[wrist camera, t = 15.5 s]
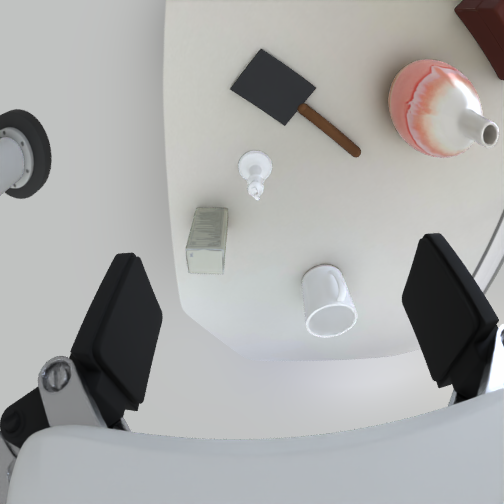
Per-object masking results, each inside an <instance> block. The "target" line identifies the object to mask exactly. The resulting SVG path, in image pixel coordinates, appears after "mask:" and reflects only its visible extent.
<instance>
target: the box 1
mask: <svg viewBox="0 0 504 504" xmlns="http://www.w3.org/2000/svg"><path fill="white" fill-rule="evenodd" d="M226 238H227V209H226V208H196V211H195V215H194V219H193V223H192V227H191V230H190V234H189V238H188V242H187V246H186V259H187V266H188V272H189V273H195V274H223V273H224V263H225V250H226Z"/></svg>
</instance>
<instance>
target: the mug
mask: <svg viewBox="0 0 504 504" xmlns="http://www.w3.org/2000/svg"><path fill="white" fill-rule="evenodd" d="M302 292H303V301H304V312H305V322H306V328H307V330H308V331H309V332H310V333H311V334H312V335H315V336H318V337H333V336H337V335H340V334H343V333H344V332H346V331H348V330H349V329H350V328H351V327H353V325H354V324H355V323H356V320H357V312H356V309H355V306H354V304H353V301H352V298H351V296H350V293H349V291H348V288H347V286H346V283H345V280H344V278H343V275H342V273H341V271H340V270H339V269H338V268H336V267H334V266H332V265H318V266H316V267H313V268H311V269H310V270H308V271H307V273H306V274H305V275H304V277H303V279H302Z"/></svg>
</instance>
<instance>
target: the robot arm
mask: <svg viewBox="0 0 504 504" xmlns="http://www.w3.org/2000/svg"><path fill="white" fill-rule="evenodd" d="M33 167H34V158H33V152H32V149H31V146H30V144H29V141H28V140H27V138H26V137H25V135H24V134H23V133H22V132H21V131H19V130H18V129H16V128H13V127H7V128H4V129H2V130H0V195H1V194H3V193H4V192H5V191H6V190H7V189H8V188H20V187H22V186H24V185H25V184H26V183H27V182H28V181H29V179H30V178H31V176H32V172H33ZM402 303H403V306H404V308H405V311H406V313H407V315H408V318H409V320H410V322H411V325H412V327H413V330H414V332H415V335H416V337H417V340H418V342H419V345H420V347H421V350H422V352H423V355H424V358H425V360H426V363H427V366H428V369H429V371H430V374H431V377H432V379H433V380H434V381H436V382H437V385H438V388H441V387H445V386H448V385H451V384H452V385H453V388H454V390H453V393H452V396H451V399H450V402H449V405H448V407H445V408H442V409H438V410H435V411H432V412H428V413H425V414H421V415H418V416H414V417H410V418H407V419H403V420H398V421H394V422H390V423H386V424H381V425H376V426H371V427H366V428H360V429H354V430H349V431H342V432H336V433H328V434H320V435H311V436H301V437H291V438H290V437H289V438H275V439H274V438H273V439H199V438H184V437H172V436H161V435H152V434H144V433H136V432H131V430H130V429H129V427H128V425H127V423H126V421H125V420H124V418H123V415H124V411H125V410H133V411H138V406H139V403H140V404H141V403H142V402H143V401H144V397H145V392H146V387H147V382H148V378H149V374H150V368H151V365H152V360H153V356H154V352H155V348H156V343H157V340H158V335H159V332H160V327H161V324H162V311H161V309H160V306H159V304H158V301H157V299H156V297H155V294H154V292H153V289H152V287H151V285H150V282H149V279H148V277H147V274H146V272H145V269H144V267H143V264H142V261H141V259H140V258H139V257H136V255H135V254H134V253H122V254H117V255H116V256H115V258H114V260H113V261H112V263H111V265H110V267H109V269H108V271H107V273H106V275H105V277H104V279H103V281H102V283H101V285H100V287H99V289H98V291H97V293H96V295H95V297H94V300H93V301H92V303H91V305H90V308H89V310H88V312H87V314H86V316H85V318H84V321H83V323H82V325H81V328H80V330H79V332H78V335H77V337H76V339H75V342H74V344H73V346H72V349H71V355H70V357H69V358H68V357H64V356H57V357H54V358H52V359H50V360H49V361H48V362H46V364H45V365H44V366H43V367H42V369H41V371H40V373H39V377H38V387H37V388H36V389H34V390H33V391H31V392H30V393H28V394H27V395H25V396H24V397H22V398H21V399H19V400H18V401H16V402H15V403H14V404H12V405H10V406H9V407H8V408H7V409H6V410H5V411H4V413H3V415H2V417H1V420H0V429H1V431H0V504H504V324H503V325H501V326H500V327H499V328H498V327H497V325H496V324H497V323H498V321H499V319H498V317H497V316H496V314H495V312H494V311H493V309H492V307H491V305H490V304H489V302H488V300H487V299H486V297H485V296H484V294H483V292H482V291H481V289H480V288H479V286H478V285H477V283H476V282H475V280H474V279H473V277H472V276H471V274H470V273H469V271H468V270H467V268H466V267H465V265H464V264H463V263H462V261H461V260H460V258H459V257H458V256H457V254H456V253H455V251H454V250H453V249H452V247H451V246H450V245H449V243H448V242H447V241H446V239H445V238H444V237H443V236H442V235H441V234H440V233H434V234H425V235H424V236H423V238H422V239H420V240H419V243H418V247H417V250H416V254H415V257H414V260H413V264H412V267H411V270H410V273H409V276H408V279H407V282H406V285H405V288H404V291H403V294H402Z"/></svg>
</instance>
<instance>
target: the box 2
mask: <svg viewBox="0 0 504 504" xmlns="http://www.w3.org/2000/svg"><path fill="white" fill-rule="evenodd" d="M455 12H456V14H457V15H458V16H459V18H460V19H461V20H462V22H463V23H464V24H465V26H466V27H467V28H468V30H469V31H470V32H471V34H472V35H473V37H474V38H475V40H476V41H477V43H478V44H479V46H480V47H481V49H482V50H483V52H484V53H485V55H486V57H487V58H488V60H489V61H490V63H491V65H492V66H493V68H494V70H495V72H496V73H497V75H498V77H499V79H501V80H504V0H463V1H462V2H461V3H460V4H459V5H458V6H457V7H456V8H455Z"/></svg>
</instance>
